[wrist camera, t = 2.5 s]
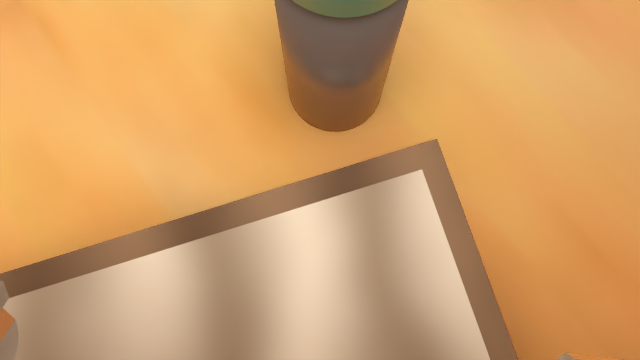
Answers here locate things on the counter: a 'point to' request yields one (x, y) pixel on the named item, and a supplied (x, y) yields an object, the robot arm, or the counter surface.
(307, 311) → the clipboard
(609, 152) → the counter surface
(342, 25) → the marker
